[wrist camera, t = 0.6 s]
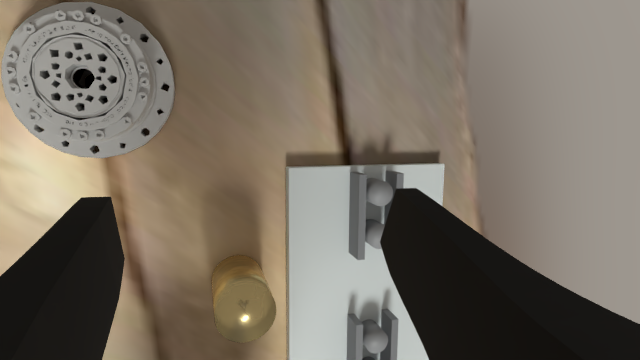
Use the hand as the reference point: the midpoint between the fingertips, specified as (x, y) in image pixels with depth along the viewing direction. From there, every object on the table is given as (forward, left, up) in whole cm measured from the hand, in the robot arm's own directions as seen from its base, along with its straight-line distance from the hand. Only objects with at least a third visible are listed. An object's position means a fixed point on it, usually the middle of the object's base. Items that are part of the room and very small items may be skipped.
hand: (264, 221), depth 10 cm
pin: (-10, -1, -20) cm, 23 cm away
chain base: (-11, -12, -20) cm, 26 cm away
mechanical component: (+5, +8, -21) cm, 23 cm away
